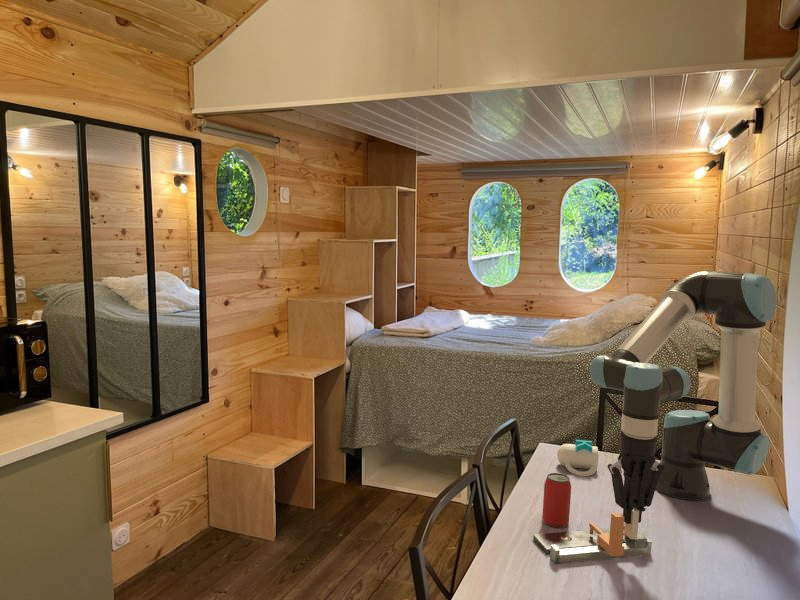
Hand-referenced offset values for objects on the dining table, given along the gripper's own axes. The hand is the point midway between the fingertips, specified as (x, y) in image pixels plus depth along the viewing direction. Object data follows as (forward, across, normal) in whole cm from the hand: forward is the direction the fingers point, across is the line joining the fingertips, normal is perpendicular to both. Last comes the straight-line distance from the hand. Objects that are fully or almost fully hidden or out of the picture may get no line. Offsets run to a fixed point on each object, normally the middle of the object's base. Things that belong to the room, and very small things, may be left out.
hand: (630, 536), depth 137 cm
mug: (+6, -16, -52) cm, 55 cm away
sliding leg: (+4, +3, -5) cm, 7 cm away
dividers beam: (+6, +5, -6) cm, 10 cm away
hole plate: (+6, +5, -10) cm, 12 cm away
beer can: (+6, +8, -20) cm, 23 cm away
